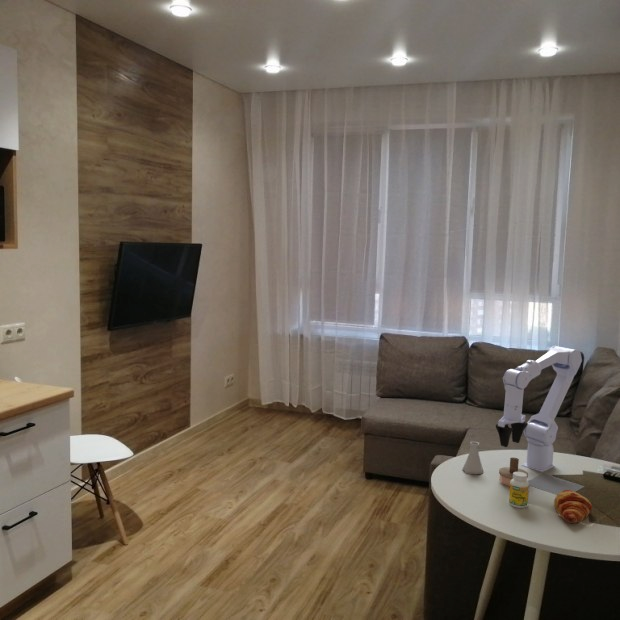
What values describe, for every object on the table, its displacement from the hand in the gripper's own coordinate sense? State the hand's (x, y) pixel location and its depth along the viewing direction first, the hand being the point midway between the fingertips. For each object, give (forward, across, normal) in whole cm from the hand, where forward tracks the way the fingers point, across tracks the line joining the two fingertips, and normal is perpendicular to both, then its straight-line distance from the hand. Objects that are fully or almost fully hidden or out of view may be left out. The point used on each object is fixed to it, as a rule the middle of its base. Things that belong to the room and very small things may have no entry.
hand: (509, 444), depth 207 cm
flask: (+11, -7, +9) cm, 16 cm away
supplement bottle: (+11, -20, -15) cm, 28 cm away
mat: (+10, +3, -15) cm, 18 cm away
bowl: (+10, -6, -5) cm, 13 cm away
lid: (+8, -6, -6) cm, 11 cm away
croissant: (+11, -12, -28) cm, 33 cm away
